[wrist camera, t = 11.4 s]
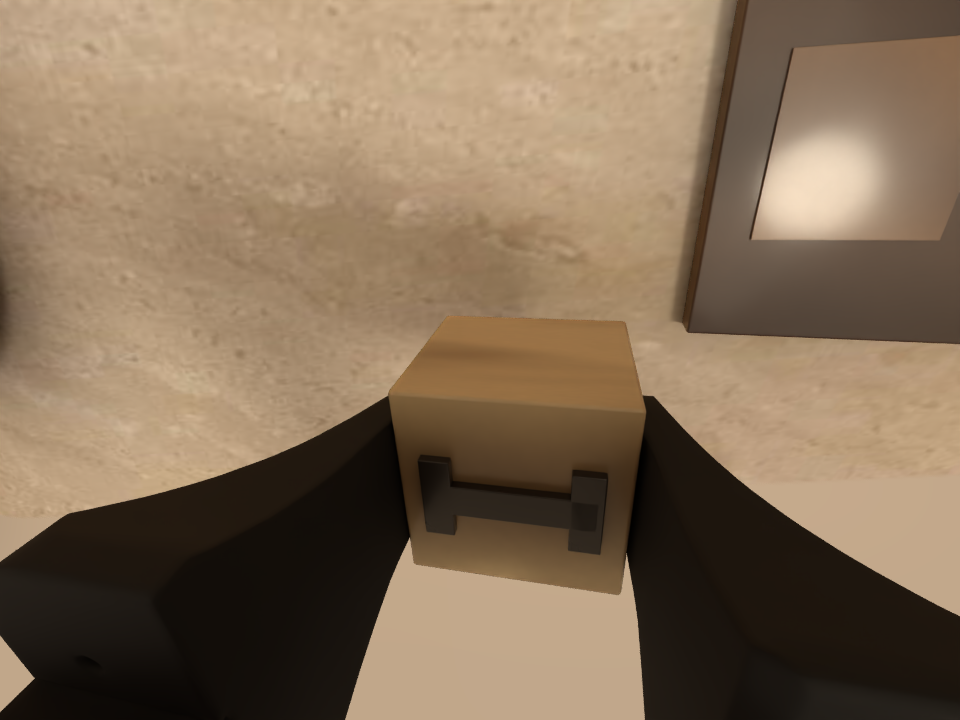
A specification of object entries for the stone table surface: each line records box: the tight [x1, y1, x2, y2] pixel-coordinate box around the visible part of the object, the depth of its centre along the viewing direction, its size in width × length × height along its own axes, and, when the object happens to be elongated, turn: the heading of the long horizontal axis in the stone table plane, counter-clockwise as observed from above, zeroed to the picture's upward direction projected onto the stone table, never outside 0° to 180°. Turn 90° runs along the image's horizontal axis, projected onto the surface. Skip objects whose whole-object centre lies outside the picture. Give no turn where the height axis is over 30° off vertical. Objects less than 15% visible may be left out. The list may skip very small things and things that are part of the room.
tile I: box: [388, 316, 646, 595], centre depth 10 cm, size 4×4×4 cm
